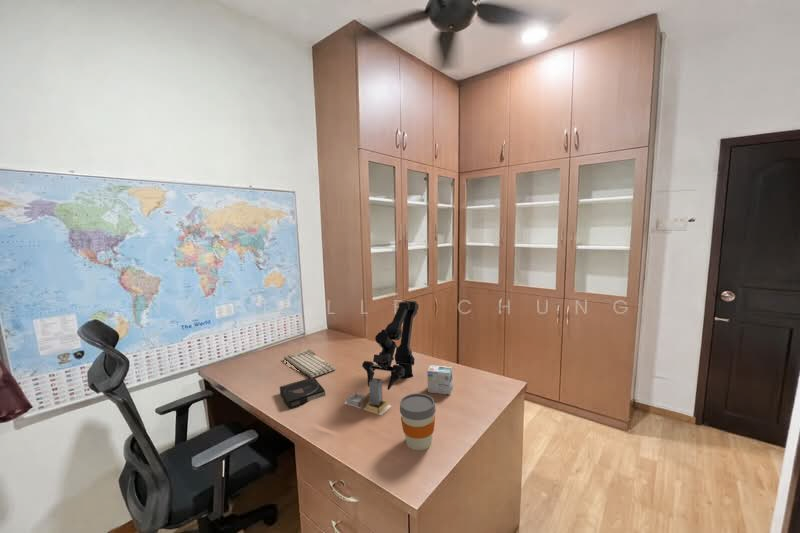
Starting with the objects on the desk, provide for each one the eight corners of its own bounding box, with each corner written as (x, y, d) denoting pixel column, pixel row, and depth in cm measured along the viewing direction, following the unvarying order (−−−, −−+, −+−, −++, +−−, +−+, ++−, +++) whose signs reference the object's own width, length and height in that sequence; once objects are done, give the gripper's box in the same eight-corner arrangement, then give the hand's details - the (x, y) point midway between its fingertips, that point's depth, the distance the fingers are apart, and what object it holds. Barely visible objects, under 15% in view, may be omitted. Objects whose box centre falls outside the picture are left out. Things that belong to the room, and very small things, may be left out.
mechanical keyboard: (341, 369, 178) (340, 363, 178) (309, 382, 165) (309, 376, 165) (309, 352, 206) (309, 347, 205) (280, 362, 193) (279, 356, 193)
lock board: (392, 407, 137) (391, 396, 136) (381, 417, 130) (380, 405, 130) (355, 396, 147) (354, 386, 147) (343, 405, 141) (343, 394, 140)
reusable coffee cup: (406, 428, 122) (405, 391, 121) (439, 433, 119) (438, 395, 117) (397, 450, 110) (394, 410, 109) (433, 456, 107) (431, 414, 105)
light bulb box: (453, 388, 151) (452, 366, 150) (450, 395, 145) (449, 372, 143) (431, 385, 154) (430, 364, 153) (427, 392, 148) (426, 370, 147)
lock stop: (383, 405, 137) (381, 379, 136) (379, 410, 133) (378, 383, 132) (374, 404, 138) (372, 378, 137) (370, 409, 134) (369, 382, 133)
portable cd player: (289, 410, 139) (288, 402, 139) (280, 394, 154) (279, 386, 153) (325, 398, 148) (325, 390, 147) (314, 384, 162) (313, 376, 162)
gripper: (362, 343, 143) (351, 378, 134) (401, 347, 136) (392, 384, 127) (371, 353, 151) (361, 387, 143) (408, 358, 144) (400, 393, 136)
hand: (378, 387), depth 137 cm, fingers open, 9 cm apart
